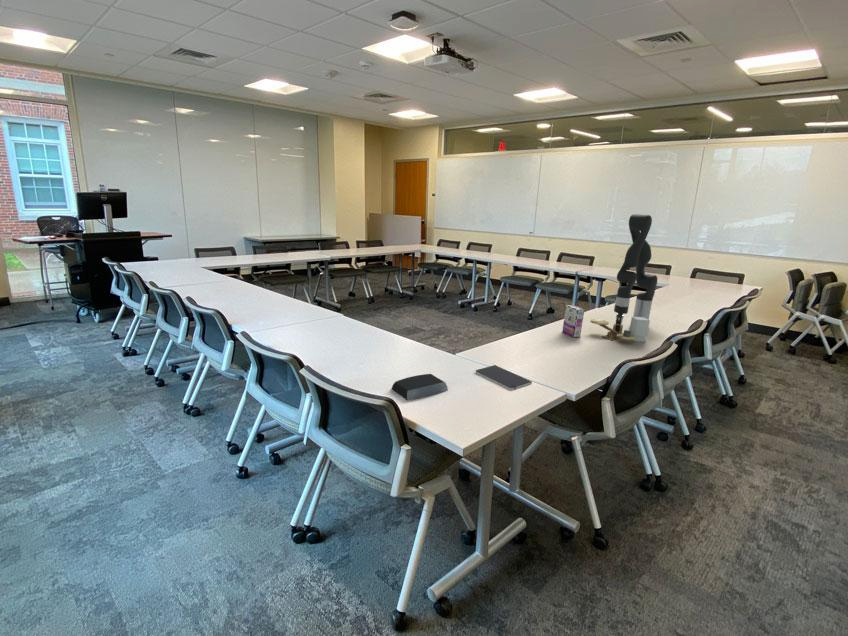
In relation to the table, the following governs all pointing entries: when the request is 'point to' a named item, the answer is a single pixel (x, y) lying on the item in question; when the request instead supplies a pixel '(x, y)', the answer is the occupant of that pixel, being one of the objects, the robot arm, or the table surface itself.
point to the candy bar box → (573, 320)
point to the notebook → (503, 377)
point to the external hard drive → (419, 386)
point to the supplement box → (639, 328)
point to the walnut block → (619, 329)
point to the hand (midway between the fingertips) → (617, 332)
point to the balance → (613, 331)
